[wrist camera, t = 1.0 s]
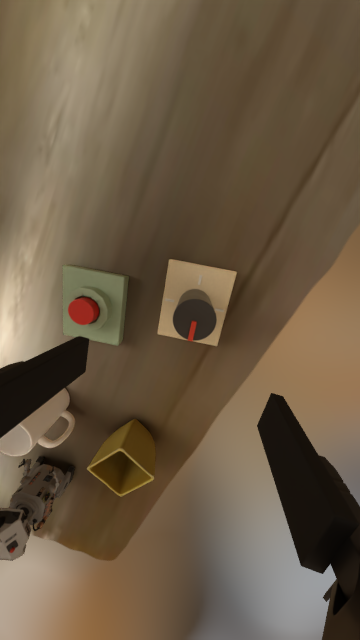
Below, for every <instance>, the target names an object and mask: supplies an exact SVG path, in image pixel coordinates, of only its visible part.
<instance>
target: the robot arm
mask: <svg viewBox="0 0 360 640" xmlns="http://www.w3.org/2000/svg"><path fill="white" fill-rule="evenodd" d="M88 345H89V338H85V337H82V336H78V337H76V338H74V339H72V340H70V341H68V342H65V343H63V344H61V345H59V346H57V347H55V348H53V349H51V350H49V351H46V352H44V353H42V354H40V355H38V356H36V357H34V358H32V359H30V360H28V361H25V362H23V361H21V362H17V363H13V364H10V365H7V366H5V367H3V368H1V369H0V438H2V437H3V436H4V435H5V434H7V433H8V432H9V431H10V430H12V429H13V428H14V427H16V426H17V425H18V424H19V423H21V422H22V421H23V420H24V419H26V418H27V417H28V416H30V415H31V414H32V413H33V412H35V411H36V410H37V409H38V408H40V407H41V406H42V405H44V404H45V403H46V402H47V401H49V400H50V399H51V398H52V397H54V396H55V395H56V394H58V393H59V392H60V391H61V390H63V389H64V388H65V387H66V386H68V385H69V384H70V383H72V382H73V381H74V380H75V379H77V378H78V377H79V376H80V375H82V374H83V373H84V372H85V370H86V362H87V354H88ZM257 427H258V430H259V433H260V437H261V440H262V443H263V446H264V449H265V452H266V455H267V459H268V462H269V465H270V468H271V472H272V475H273V478H274V481H275V484H276V487H277V490H278V494H279V497H280V500H281V503H282V507H283V510H284V513H285V516H286V519H287V522H288V526H289V529H290V532H291V535H292V538H293V541H294V545H295V548H296V551H297V554H298V557H299V561H300V564H301V566H303V567H305V568H308V569H311V570H313V571H316V572H319V573H322V574H323V573H324V572H325V570H326V569H327V567H328V566H329V565H330V564H331V566H332V568H333V571H334V573H335V576H336V578H337V579H336V581H335V582H334V583H333V585H332V586H331V587H330V588H329V589H328V591H327V592H326V593H325V595H324V597H323V598H324V599H325V601H326V602H327V601H328V600H329V598H330V601H329V606H328V612H327V616H326V622H325V627H324V632H323V637H322V640H360V506H359V505H358V503H357V502H356V500H355V498H354V497H353V496H352V495H351V494H350V491H349V489H348V488H347V486H346V484H344V483H343V480H342V478H341V477H340V475H339V474H338V472H337V471H336V469H335V468H334V467H333V466H332V465H331V464H330V463H329V461H328V460H327V459H326V458H325V457H322V456H319V455H318V454H317V452H316V451H315V449H314V447H313V446H312V444H311V442H310V441H309V439H308V437H307V436H306V434H305V432H304V431H303V429H302V427H301V426H300V424H299V422H298V421H297V419H296V417H295V416H294V414H293V412H292V411H291V409H290V407H289V406H288V405H287V402H286V401H285V399H284V397H283V396H280V395H276V394H273V393H271V395H270V397H269V400H268V402H267V404H266V407H265V409H264V411H263V413H262V416H261V418H260V420H259V423H258V425H257Z"/></svg>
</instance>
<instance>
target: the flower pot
mask: <svg viewBox="0 0 360 640" xmlns="http://www.w3.org/2000/svg"><path fill="white" fill-rule="evenodd" d="M155 458H156V450H155V444H154V440H153V438H152V435H151V433H150V432H149V431H148V430H147V429H146V428H145V427H144V426H143V425H142V424H141V423H140V422H139V421H138V420H136V419H133V420H132V421H130V422H128V423H127V424H125V425H124V426H122V427H121V428H119V429H118V430H116V431H115V432H114V433H113V434H111V435H110V436H109V437H108V438H107V439H106V441H105V442H104V443H103V444H102V446H101V447H100V449H99V450H98V452H97V454H96V455H95V457H94V458H93V460H92V461H91V463H90V465H89V466H88V468H87V470H88V471H89V472H90V473H92V474H93V475H94V476H96V477H97V478H98V479H99V480H101V481H102V482H103V483H104V484H106V485H107V486H108V487H109V488H110V489H111V490H112V491H114V492H115V493H116V494H117V495H119V496H124V495H125V494H127V493H129V492H131V491H133V490H135V489H137V488H139V487H141V486H143V485H144V484H147V483H148V482H150V481H152V480H154V475H155Z"/></svg>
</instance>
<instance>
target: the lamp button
mask: <svg viewBox="0 0 360 640" xmlns="http://www.w3.org/2000/svg"><path fill="white" fill-rule="evenodd" d="M68 313H69V316H70V318H71V319H72V320H73V321H74V322H75V323H77V324H80V325H87V324H89V323H91V322H92V321H94V320H96V319H97V317H98V315H99V308H98V305H97V304H96V302H95V301H94V300H92V299H90V298H87V297H82V298H79V299H76V300H73V301H72V302H71V303H70V304H69V307H68Z"/></svg>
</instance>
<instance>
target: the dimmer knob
mask: <svg viewBox="0 0 360 640" xmlns="http://www.w3.org/2000/svg"><path fill="white" fill-rule="evenodd" d="M216 322H217V318H216V313H215V311H214V308H213V306H212V303H211V301H210V298H209V296H208V295H207V294H206V293H205V292H204V291H202V290H199V289H191V290H188V291H186V292H185V293H183V294H182V296H181V297H180V299H179V302H178V304H177V307H176V309H175V311H174V314H173V325H174V328H175V330H176V331H177V333H178V334H179V335H180V336H182V337H183V338H185V339H188V341H197V340H202V339H204V338H206V337H208V336H209V335H210V334H211V333H212V332H213V330H214V329H215V326H216Z"/></svg>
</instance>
